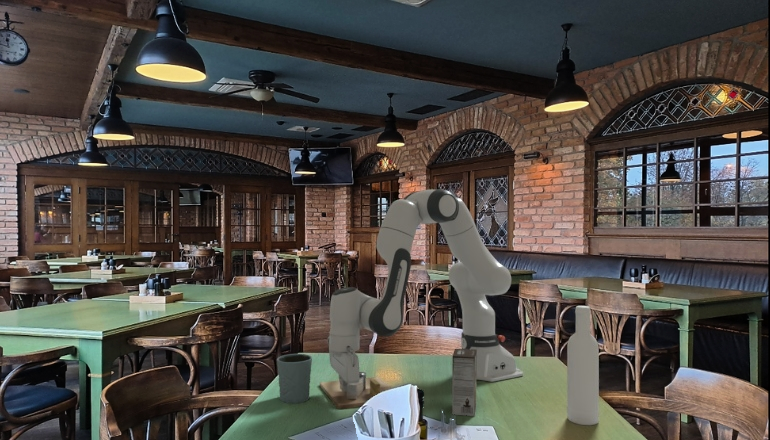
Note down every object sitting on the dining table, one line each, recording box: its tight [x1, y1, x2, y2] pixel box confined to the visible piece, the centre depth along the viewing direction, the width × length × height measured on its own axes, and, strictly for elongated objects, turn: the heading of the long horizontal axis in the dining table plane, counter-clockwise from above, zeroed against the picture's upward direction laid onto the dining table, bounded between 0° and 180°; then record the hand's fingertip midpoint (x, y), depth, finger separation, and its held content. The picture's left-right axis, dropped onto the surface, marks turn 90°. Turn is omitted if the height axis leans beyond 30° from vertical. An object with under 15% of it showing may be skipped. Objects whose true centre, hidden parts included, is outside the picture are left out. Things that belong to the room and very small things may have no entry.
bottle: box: [566, 305, 600, 426], centre depth 138 cm, size 8×8×30 cm
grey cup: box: [276, 353, 313, 404], centre depth 154 cm, size 10×10×12 cm
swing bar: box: [347, 371, 367, 399], centre depth 156 cm, size 12×4×5 cm, turn 169°
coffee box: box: [451, 348, 477, 417], centre depth 145 cm, size 9×6×16 cm
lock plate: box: [319, 376, 393, 410], centre depth 159 cm, size 20×23×5 cm
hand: (343, 390), depth 153 cm, fingers closed
